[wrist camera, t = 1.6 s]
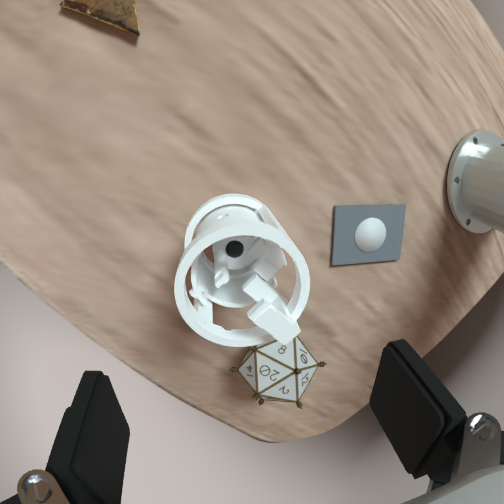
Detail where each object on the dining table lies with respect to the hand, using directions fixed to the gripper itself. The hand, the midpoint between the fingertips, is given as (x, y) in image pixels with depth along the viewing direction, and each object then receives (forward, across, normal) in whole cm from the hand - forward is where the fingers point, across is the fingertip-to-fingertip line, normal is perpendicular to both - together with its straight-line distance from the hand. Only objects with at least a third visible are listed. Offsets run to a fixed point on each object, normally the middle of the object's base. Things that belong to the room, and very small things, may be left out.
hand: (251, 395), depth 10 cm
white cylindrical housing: (+21, -1, 0) cm, 21 cm away
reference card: (+21, -15, +2) cm, 26 cm away
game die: (+21, -5, +14) cm, 26 cm away
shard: (+22, +9, -24) cm, 34 cm away
